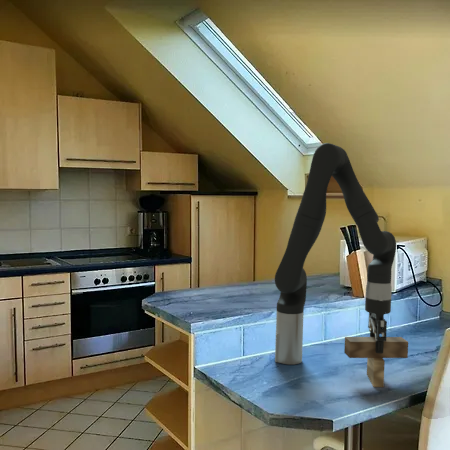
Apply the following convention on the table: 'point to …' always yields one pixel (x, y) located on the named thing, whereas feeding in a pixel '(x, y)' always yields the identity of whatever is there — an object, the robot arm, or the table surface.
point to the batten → (366, 347)
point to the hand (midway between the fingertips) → (376, 348)
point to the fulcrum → (376, 371)
